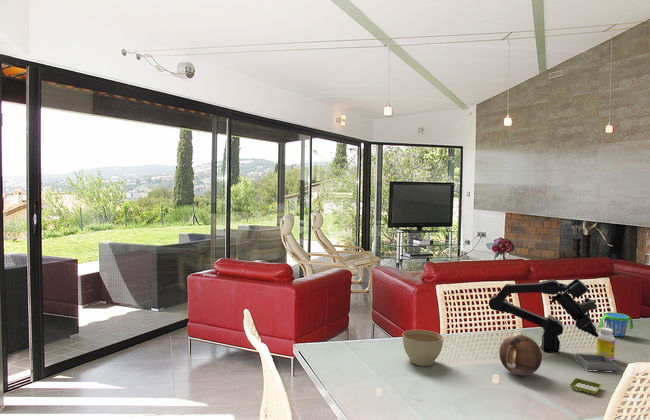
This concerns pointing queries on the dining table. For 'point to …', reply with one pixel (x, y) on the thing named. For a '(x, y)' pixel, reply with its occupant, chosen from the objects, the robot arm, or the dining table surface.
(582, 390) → the green rectangular frame
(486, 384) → the dining table surface
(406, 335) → the planter bowl
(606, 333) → the supplement bottle
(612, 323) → the snack cup
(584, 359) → the tray
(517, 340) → the wooden sphere
